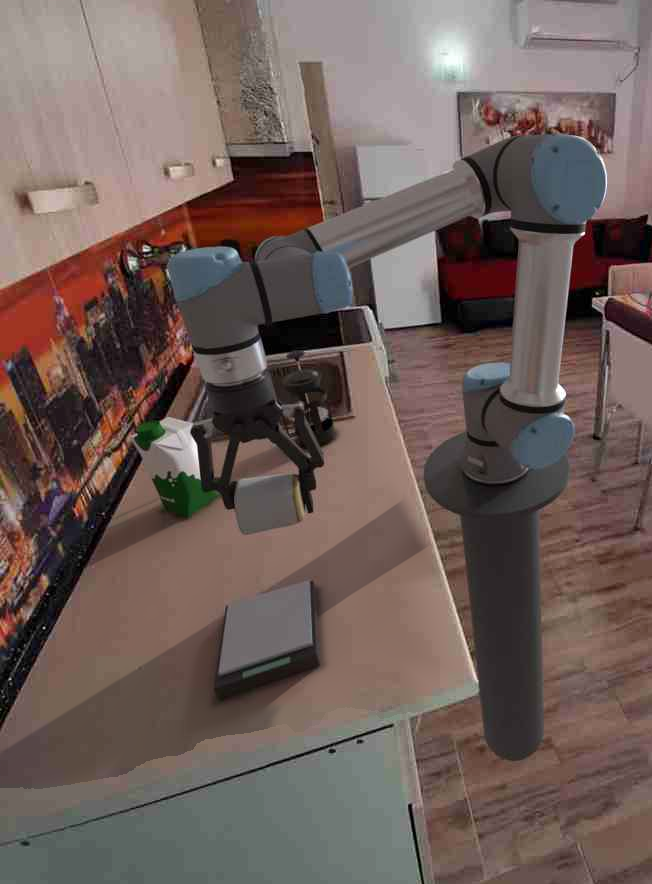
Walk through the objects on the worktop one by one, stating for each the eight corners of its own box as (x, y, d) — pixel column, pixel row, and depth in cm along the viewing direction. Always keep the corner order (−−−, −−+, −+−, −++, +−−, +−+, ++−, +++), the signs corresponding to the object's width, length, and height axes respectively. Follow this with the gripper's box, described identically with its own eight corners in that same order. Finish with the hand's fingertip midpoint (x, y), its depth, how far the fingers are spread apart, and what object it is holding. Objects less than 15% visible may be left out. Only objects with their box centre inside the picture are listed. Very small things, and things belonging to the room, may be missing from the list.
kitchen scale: (316, 590, 84) (312, 576, 82) (320, 665, 72) (315, 651, 70) (230, 616, 80) (224, 603, 79) (219, 700, 68) (212, 685, 67)
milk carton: (157, 511, 104) (120, 428, 95) (197, 485, 111) (165, 405, 102) (186, 522, 100) (150, 436, 91) (225, 494, 108) (195, 412, 99)
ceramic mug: (307, 532, 71) (295, 487, 68) (243, 547, 69) (228, 501, 65) (309, 488, 80) (299, 447, 77) (253, 500, 78) (240, 458, 75)
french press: (331, 422, 132) (312, 340, 122) (344, 438, 125) (325, 352, 115) (285, 439, 126) (261, 354, 116) (296, 456, 119) (271, 367, 109)
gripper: (132, 404, 58) (193, 553, 68) (324, 371, 64) (354, 512, 74) (149, 377, 64) (202, 517, 74) (322, 350, 70) (350, 483, 80)
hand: (278, 514), depth 74 cm, fingers closed on ceramic mug, 8 cm apart
